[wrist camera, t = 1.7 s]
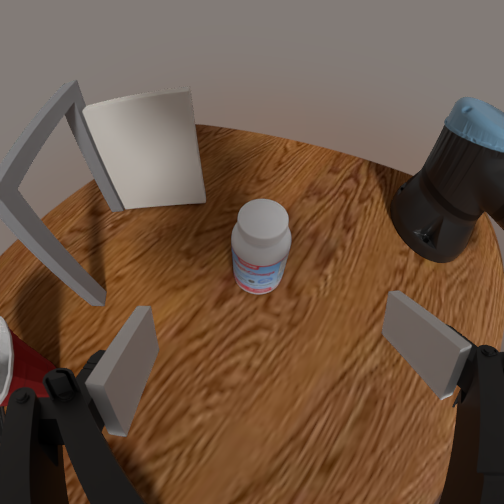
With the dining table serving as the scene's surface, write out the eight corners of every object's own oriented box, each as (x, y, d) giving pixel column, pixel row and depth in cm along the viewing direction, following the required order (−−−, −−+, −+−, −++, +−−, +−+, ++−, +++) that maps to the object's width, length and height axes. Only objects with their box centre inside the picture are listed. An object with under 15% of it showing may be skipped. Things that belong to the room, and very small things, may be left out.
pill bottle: (225, 285, 34) (217, 231, 24) (245, 245, 37) (245, 185, 27) (272, 303, 33) (283, 255, 23) (289, 261, 36) (304, 204, 26)
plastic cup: (40, 327, 30) (-16, 291, 19) (87, 373, 27) (25, 350, 17) (11, 383, 25) (-48, 362, 14) (55, 434, 22) (-10, 431, 12)
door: (125, 209, 39) (82, 111, 24) (128, 197, 41) (89, 101, 25) (205, 202, 40) (188, 91, 25) (206, 190, 41) (191, 82, 26)
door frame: (125, 201, 41) (76, 79, 22) (104, 306, 32) (-6, 192, 13) (115, 202, 41) (63, 84, 22) (91, 305, 32) (-18, 196, 13)
